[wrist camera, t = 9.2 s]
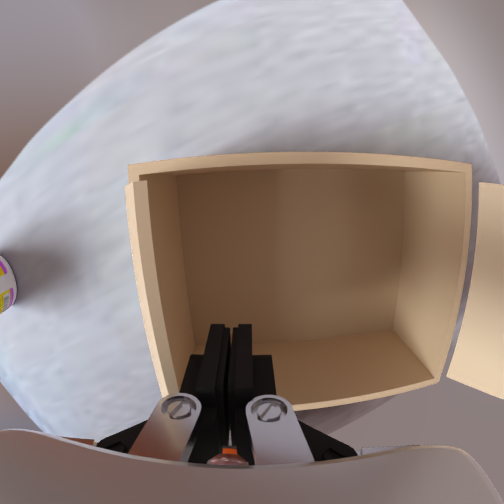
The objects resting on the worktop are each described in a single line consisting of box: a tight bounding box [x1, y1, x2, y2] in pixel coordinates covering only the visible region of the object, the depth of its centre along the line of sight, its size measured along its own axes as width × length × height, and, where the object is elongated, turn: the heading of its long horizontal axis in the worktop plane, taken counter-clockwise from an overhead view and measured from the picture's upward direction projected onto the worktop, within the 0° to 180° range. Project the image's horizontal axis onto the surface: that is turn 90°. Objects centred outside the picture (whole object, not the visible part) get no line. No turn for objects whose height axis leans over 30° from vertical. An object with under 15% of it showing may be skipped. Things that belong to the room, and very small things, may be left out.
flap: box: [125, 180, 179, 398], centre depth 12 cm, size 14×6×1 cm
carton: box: [128, 152, 472, 411], centre depth 20 cm, size 16×20×9 cm
